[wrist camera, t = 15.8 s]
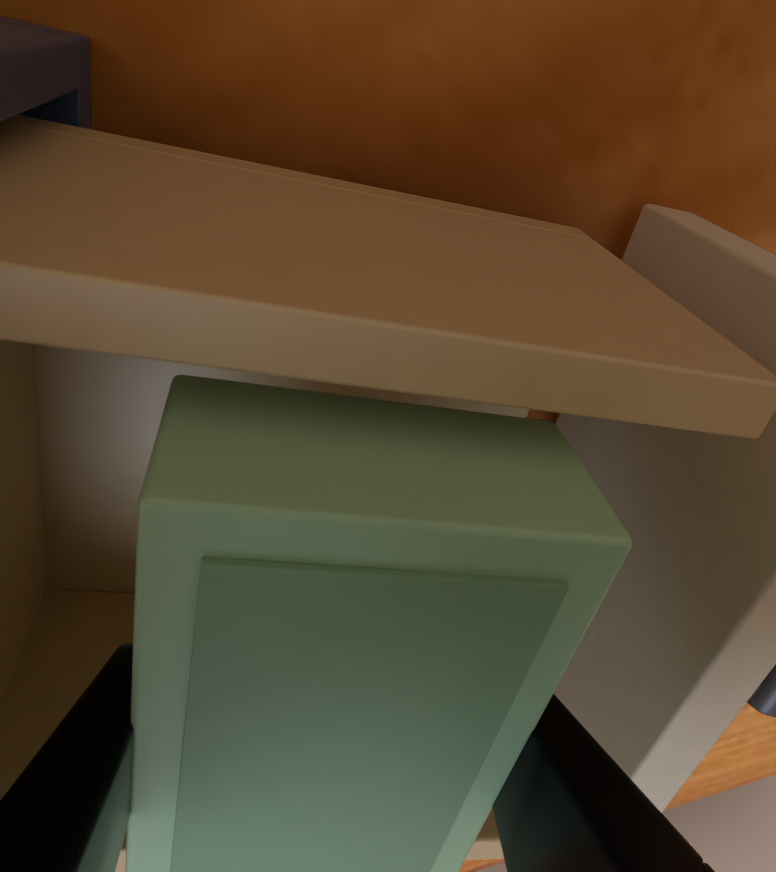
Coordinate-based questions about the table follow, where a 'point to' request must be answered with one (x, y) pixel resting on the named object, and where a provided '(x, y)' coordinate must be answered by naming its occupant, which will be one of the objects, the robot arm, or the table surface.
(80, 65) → the cabinet
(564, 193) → the table surface
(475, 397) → the drawer
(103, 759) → the robot arm
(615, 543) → the green rectangular block
